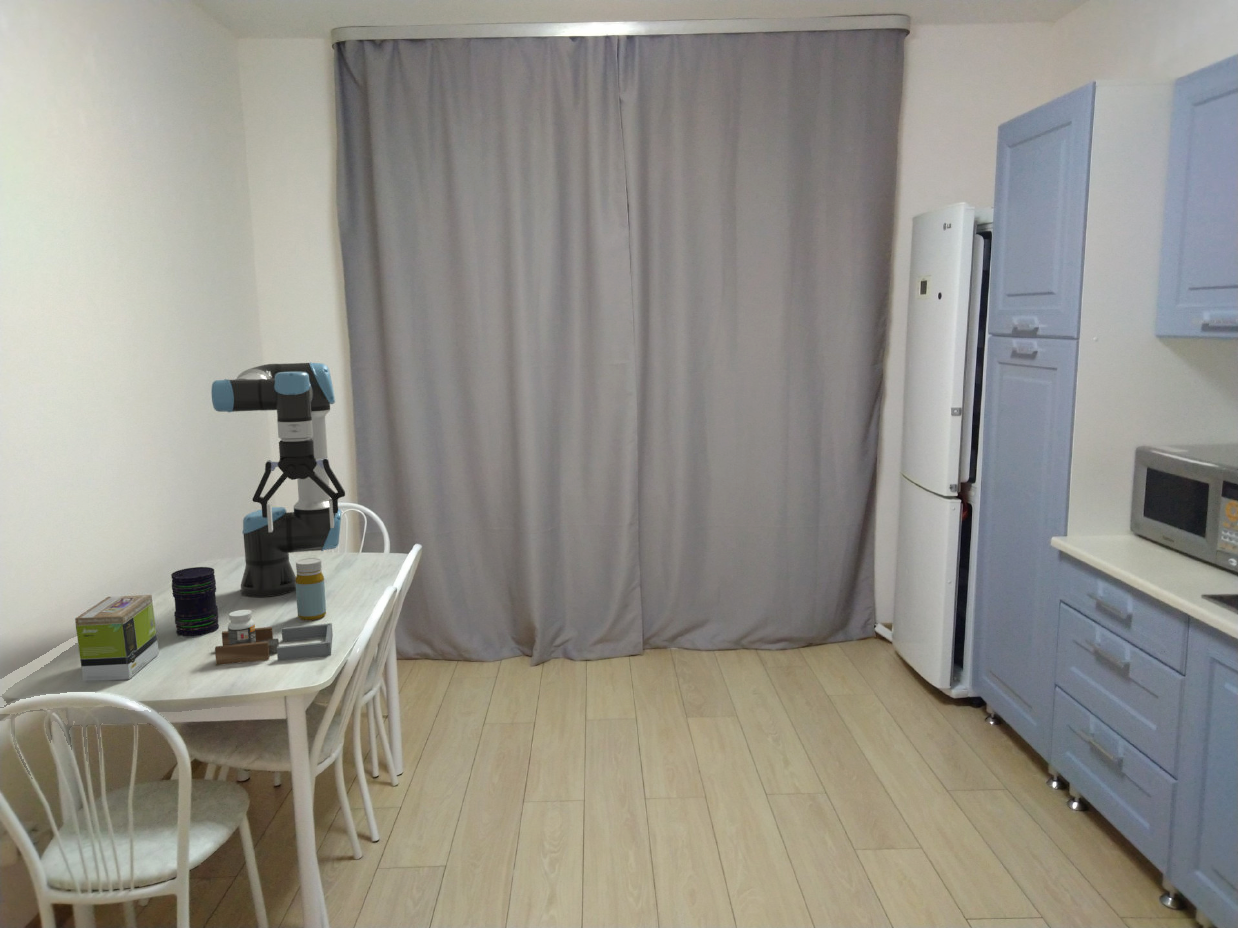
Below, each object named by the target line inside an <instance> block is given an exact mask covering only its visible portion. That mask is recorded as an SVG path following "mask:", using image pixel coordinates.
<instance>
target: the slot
mask: <svg viewBox="0 0 1238 928" xmlns="http://www.w3.org/2000/svg"><path fill="white" fill-rule="evenodd" d="M273 631H274V630H273V626H267V627H255V635H256V642H255V643H245V644H235V645H229V635H228V630H225V631H222V632H221V642H222V645H219V646H218V645H217V646H215V647H214V653H215V654H214V655H215V665H216V666H221V665H222V666H223V665H224V666H225V665H231V664H242V663H250V662H251V663H252V662H260V661H269V660H270V654H269V647H268V641H265V642H260V640H267V639H274V633H273Z"/></svg>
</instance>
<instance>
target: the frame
mask: <svg viewBox="0 0 1238 928" xmlns="http://www.w3.org/2000/svg"><path fill="white" fill-rule="evenodd" d="M333 636H334V635H333V623H332V622H329V623H320V624H311V625H300V626H299V625H298V626H290V627H289V626H287V627H282V628H281V638H282V642H287V641H288V642H290V641H298V640H299V641H300V640H308V639H319V638H325V641H320V642H319V641H318V642H310V643H309V642H308V643H299V644H290V645H281V646H280V645H279V647H277V654H276V657H277V661H278V662H279V661H280V662H281V661H288V660H289V661H290V660H298V659H299V660H300V659H306V658H307V659H308V658H316V657H317V658H318V657H325V656H326V657H327V656H332V647H333Z"/></svg>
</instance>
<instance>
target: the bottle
mask: <svg viewBox="0 0 1238 928" xmlns="http://www.w3.org/2000/svg"><path fill="white" fill-rule="evenodd" d="M295 570H296V575H295V576H296V579H295V581H296V582H295V583H296V589H295V593H296V594H295V596H296V610H297V612H296V613H297V617H298V618H299V619H300V620H301V621H317V620H320V619H322V618H324V617H325V616H326V614H327V603H326V590H325V577H324V575H323V574H324V573H323V572H322V570H323V568H322V559H321V558H318V557H317V558H316V557H307V558H301V559H299V560H296V561H295Z"/></svg>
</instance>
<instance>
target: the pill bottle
mask: <svg viewBox="0 0 1238 928" xmlns="http://www.w3.org/2000/svg"><path fill="white" fill-rule="evenodd" d="M228 616H229V617H228V619H229V620H230V622H229V623H228V625H227V631H228V635H229V645H235V644H245V643H255V642H256V635H255V628H256V626H255V621H254V620H253V619H251V618H252V611H251V610H250V609H239V610H235V611H232V612H230V613H229V614H228Z"/></svg>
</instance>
